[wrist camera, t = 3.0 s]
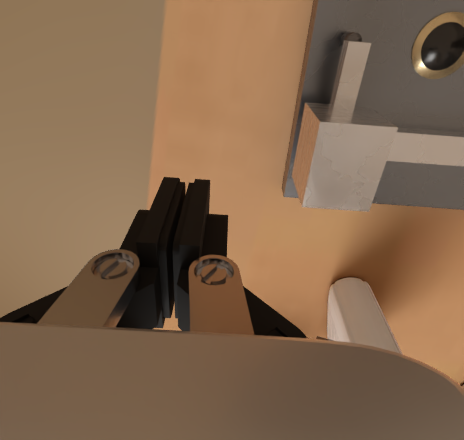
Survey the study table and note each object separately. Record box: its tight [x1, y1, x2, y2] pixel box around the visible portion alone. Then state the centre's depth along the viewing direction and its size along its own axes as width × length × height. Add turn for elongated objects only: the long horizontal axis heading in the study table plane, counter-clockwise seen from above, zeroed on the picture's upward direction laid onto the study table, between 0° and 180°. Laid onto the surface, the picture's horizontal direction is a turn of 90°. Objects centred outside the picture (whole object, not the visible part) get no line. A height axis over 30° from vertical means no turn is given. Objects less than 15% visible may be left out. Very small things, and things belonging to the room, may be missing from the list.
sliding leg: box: [292, 32, 398, 212], centre depth 19 cm, size 4×9×5 cm, turn 176°
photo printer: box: [327, 277, 403, 355], centre depth 29 cm, size 10×4×12 cm, turn 8°
